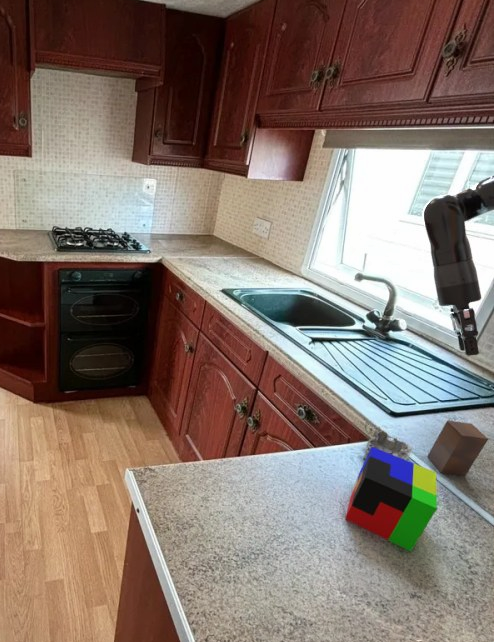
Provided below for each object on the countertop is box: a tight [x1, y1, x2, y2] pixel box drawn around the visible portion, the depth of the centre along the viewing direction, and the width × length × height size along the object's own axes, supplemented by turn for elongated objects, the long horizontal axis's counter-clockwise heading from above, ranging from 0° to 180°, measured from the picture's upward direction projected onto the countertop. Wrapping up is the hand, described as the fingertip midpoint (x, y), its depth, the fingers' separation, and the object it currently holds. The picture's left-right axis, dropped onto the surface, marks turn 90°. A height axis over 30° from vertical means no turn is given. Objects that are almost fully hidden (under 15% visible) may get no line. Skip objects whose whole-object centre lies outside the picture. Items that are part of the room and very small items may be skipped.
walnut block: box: [426, 420, 489, 477], centre depth 85 cm, size 5×5×10 cm
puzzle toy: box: [344, 447, 438, 552], centre depth 71 cm, size 10×10×10 cm
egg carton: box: [362, 426, 413, 461], centre depth 87 cm, size 11×8×4 cm
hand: (469, 352), depth 93 cm, fingers open, 8 cm apart
